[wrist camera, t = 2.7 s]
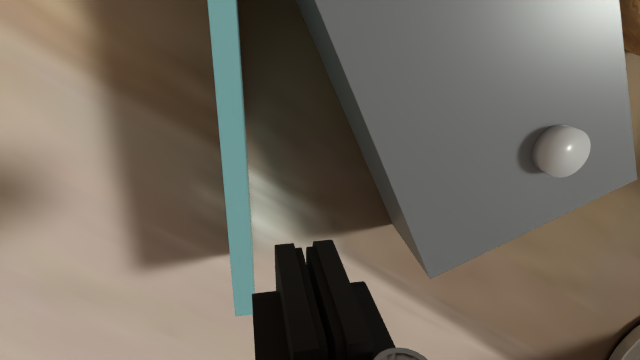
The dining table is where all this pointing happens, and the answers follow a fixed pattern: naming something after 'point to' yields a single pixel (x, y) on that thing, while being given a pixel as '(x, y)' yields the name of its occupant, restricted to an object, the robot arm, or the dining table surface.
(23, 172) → the dining table surface
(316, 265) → the robot arm
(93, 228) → the dining table surface
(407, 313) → the dining table surface
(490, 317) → the dining table surface
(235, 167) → the side door
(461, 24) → the camera body
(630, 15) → the pastry
